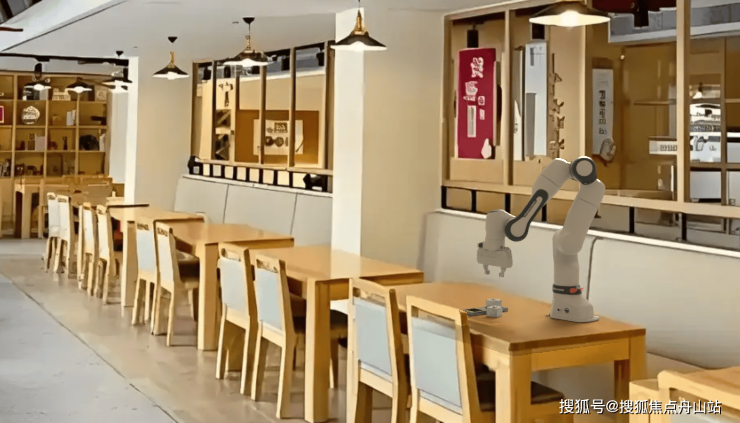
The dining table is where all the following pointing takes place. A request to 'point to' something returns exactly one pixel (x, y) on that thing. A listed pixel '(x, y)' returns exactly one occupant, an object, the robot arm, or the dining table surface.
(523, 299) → the dining table surface
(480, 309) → the rail
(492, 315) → the nut
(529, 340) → the dining table surface
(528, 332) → the dining table surface
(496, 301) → the grey cube
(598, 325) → the dining table surface
